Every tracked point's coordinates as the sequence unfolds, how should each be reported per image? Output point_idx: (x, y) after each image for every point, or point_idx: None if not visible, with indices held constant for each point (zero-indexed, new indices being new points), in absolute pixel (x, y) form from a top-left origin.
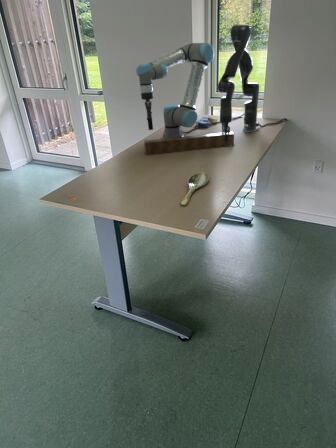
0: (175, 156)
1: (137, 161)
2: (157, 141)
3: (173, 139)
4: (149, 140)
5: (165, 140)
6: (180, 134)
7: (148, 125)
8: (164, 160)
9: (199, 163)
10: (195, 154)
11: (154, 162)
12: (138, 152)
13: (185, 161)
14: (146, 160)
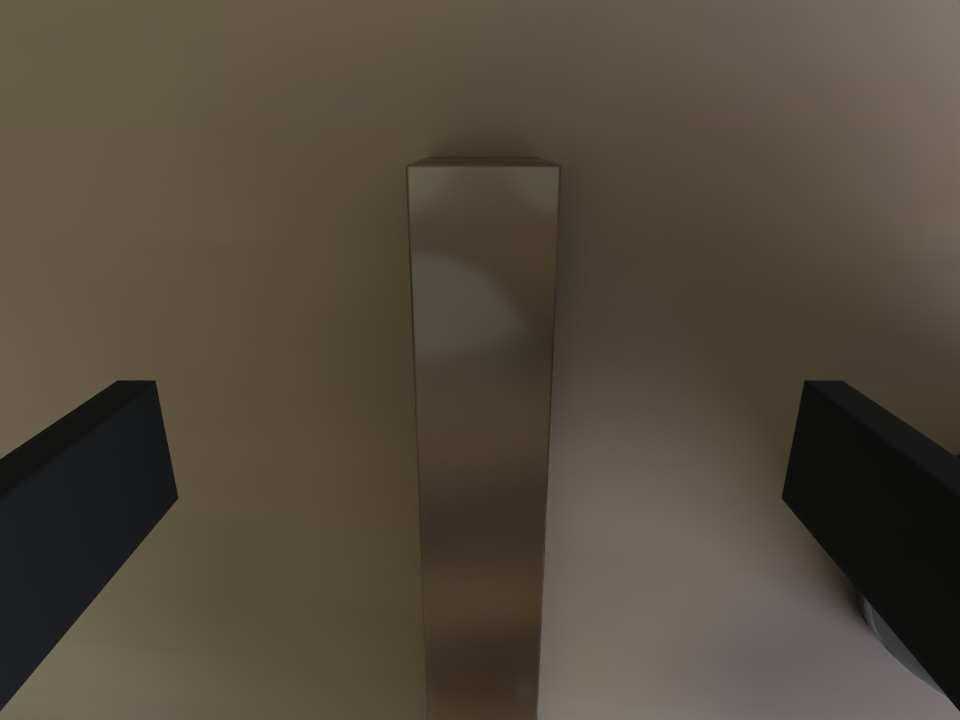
0: (280, 518)
1: (169, 14)
2: (419, 409)
3: (446, 635)
4: (530, 271)
5: (434, 530)
6: (920, 676)
7: (14, 456)
8: (163, 393)
9: (41, 694)
10: (300, 695)
11: (104, 268)
12: (581, 35)
13: (106, 593)
14: (194, 160)
